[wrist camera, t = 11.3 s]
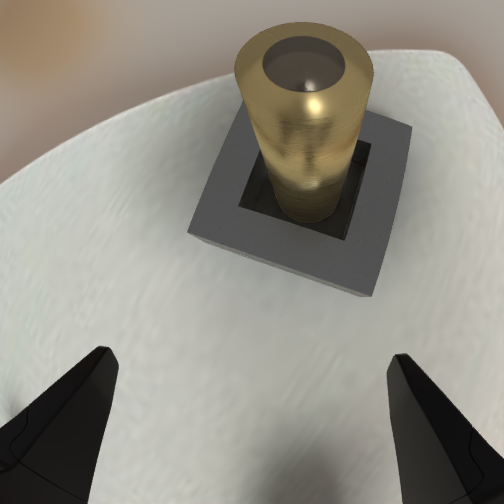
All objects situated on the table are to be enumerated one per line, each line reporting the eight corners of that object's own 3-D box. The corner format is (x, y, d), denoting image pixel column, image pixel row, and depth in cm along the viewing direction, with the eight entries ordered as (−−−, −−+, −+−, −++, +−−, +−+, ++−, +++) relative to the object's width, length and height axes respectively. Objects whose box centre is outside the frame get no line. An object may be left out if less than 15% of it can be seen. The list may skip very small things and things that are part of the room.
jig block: (399, 150, 20) (412, 126, 17) (360, 296, 19) (371, 296, 16) (259, 109, 22) (251, 83, 19) (205, 242, 22) (187, 232, 18)
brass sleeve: (352, 196, 20) (401, 72, 8) (304, 236, 20) (298, 144, 8) (310, 152, 21) (306, 7, 8) (263, 189, 21) (208, 63, 9)
